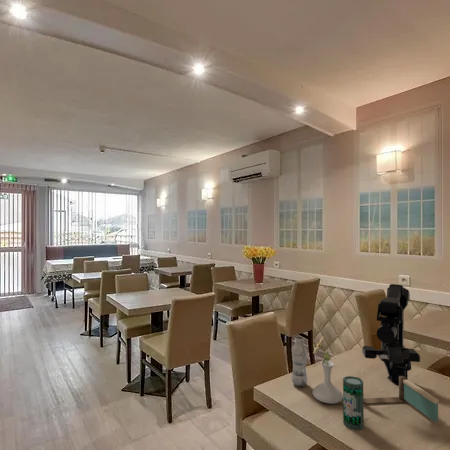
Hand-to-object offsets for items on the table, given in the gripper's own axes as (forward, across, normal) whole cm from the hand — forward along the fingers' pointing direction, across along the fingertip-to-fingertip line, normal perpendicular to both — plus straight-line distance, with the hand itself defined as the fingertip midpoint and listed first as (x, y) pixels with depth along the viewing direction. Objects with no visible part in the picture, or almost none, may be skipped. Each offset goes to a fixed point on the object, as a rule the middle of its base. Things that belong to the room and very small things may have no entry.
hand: (390, 376), depth 119 cm
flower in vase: (+11, -23, -1) cm, 26 cm away
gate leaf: (+9, +9, -4) cm, 13 cm away
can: (+11, -16, -16) cm, 25 cm away
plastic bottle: (+11, -33, +9) cm, 36 cm away
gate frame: (+11, -3, +2) cm, 11 cm away
